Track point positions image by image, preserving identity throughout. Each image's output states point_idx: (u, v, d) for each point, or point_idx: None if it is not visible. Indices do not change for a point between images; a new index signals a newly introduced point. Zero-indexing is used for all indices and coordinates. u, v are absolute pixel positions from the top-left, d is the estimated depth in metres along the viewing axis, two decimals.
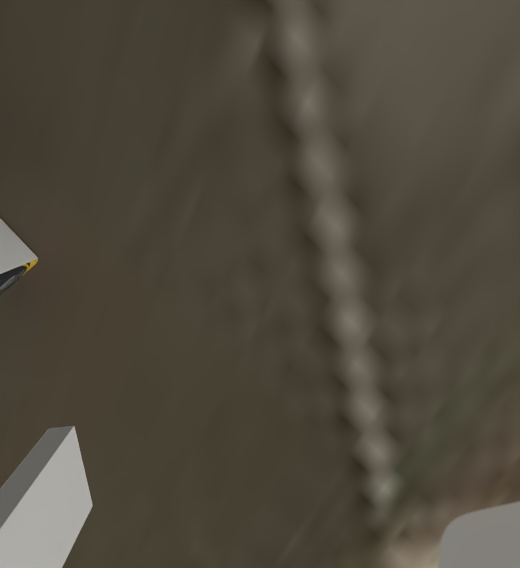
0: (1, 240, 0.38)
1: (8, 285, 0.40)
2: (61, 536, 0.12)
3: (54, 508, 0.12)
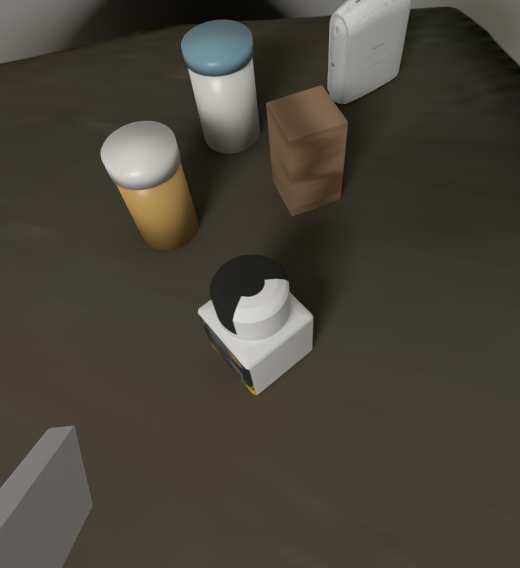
0: (276, 368, 0.42)
1: (232, 367, 0.43)
2: (61, 536, 0.12)
3: (54, 508, 0.12)
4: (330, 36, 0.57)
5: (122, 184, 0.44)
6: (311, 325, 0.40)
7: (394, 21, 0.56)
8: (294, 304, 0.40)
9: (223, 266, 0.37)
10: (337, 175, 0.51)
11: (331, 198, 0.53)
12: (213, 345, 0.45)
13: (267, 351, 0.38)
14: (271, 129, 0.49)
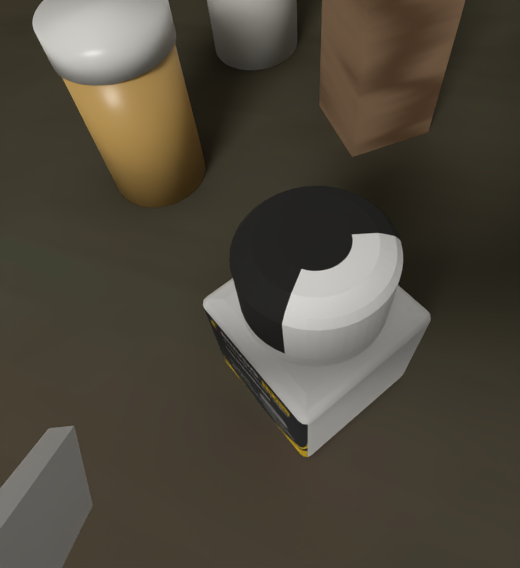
0: (349, 412, 0.22)
1: (264, 405, 0.24)
2: (61, 536, 0.12)
3: (54, 508, 0.12)
4: None
5: (70, 73, 0.24)
6: (423, 333, 0.21)
7: None
8: None
9: (258, 208, 0.17)
10: (433, 85, 0.31)
11: (415, 128, 0.34)
12: (229, 363, 0.26)
13: (344, 387, 0.18)
14: (329, 2, 0.29)
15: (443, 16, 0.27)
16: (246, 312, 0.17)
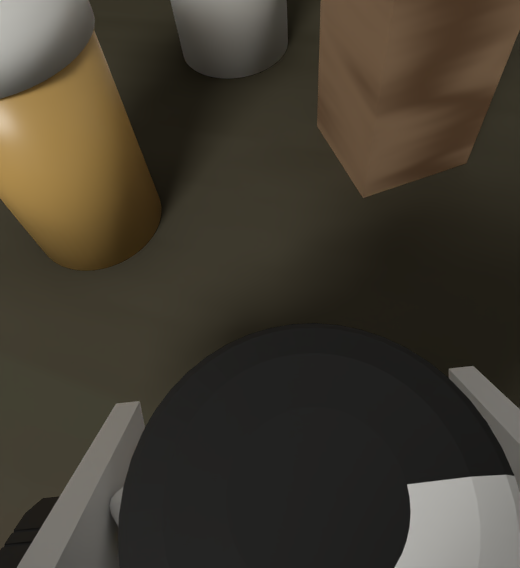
0: None
1: None
2: None
3: None
4: None
5: None
6: None
7: None
8: None
9: (190, 384, 0.08)
10: (480, 100, 0.22)
11: (450, 159, 0.25)
12: None
13: None
14: None
15: None
16: None
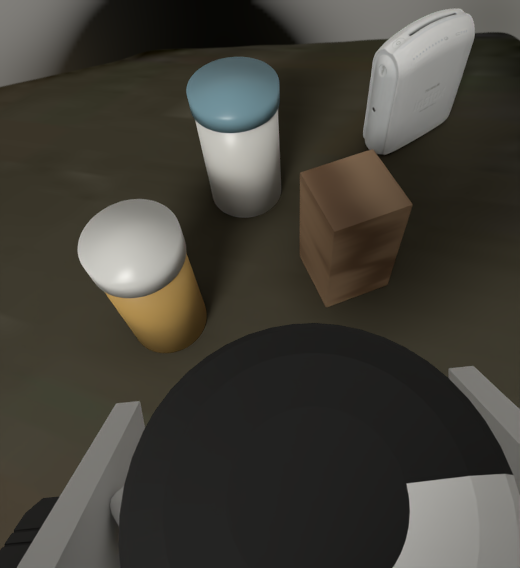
0: None
1: None
2: None
3: None
4: (372, 75, 0.45)
5: (107, 290, 0.32)
6: None
7: (454, 58, 0.44)
8: None
9: (190, 384, 0.08)
10: (388, 261, 0.39)
11: (377, 284, 0.42)
12: None
13: None
14: (305, 204, 0.37)
15: (392, 228, 0.35)
16: None
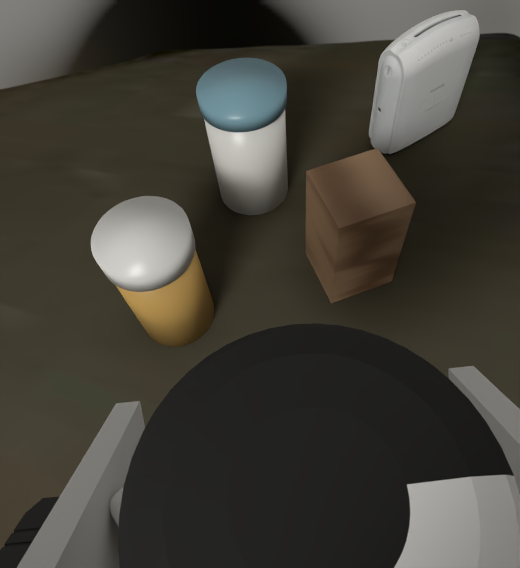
0: None
1: None
2: None
3: None
4: (378, 76, 0.46)
5: (119, 284, 0.33)
6: None
7: (459, 58, 0.45)
8: None
9: (190, 385, 0.08)
10: (392, 258, 0.40)
11: (381, 281, 0.43)
12: None
13: None
14: (310, 202, 0.38)
15: (395, 225, 0.36)
16: None
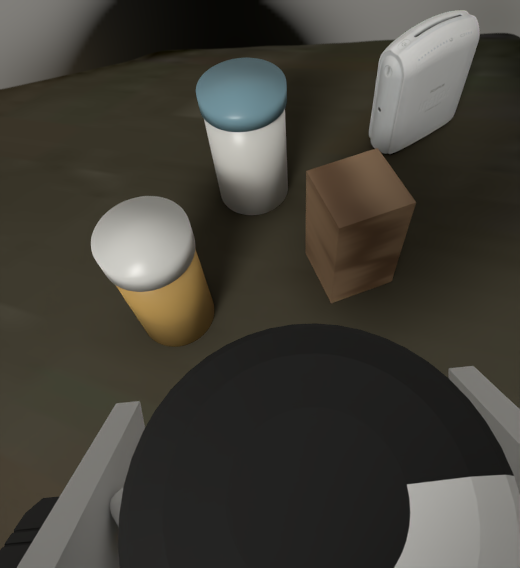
0: None
1: None
2: None
3: None
4: (378, 76, 0.46)
5: (119, 284, 0.33)
6: None
7: (459, 58, 0.45)
8: None
9: (190, 385, 0.08)
10: (392, 258, 0.40)
11: (381, 281, 0.43)
12: None
13: None
14: (311, 202, 0.38)
15: (396, 225, 0.36)
16: None
